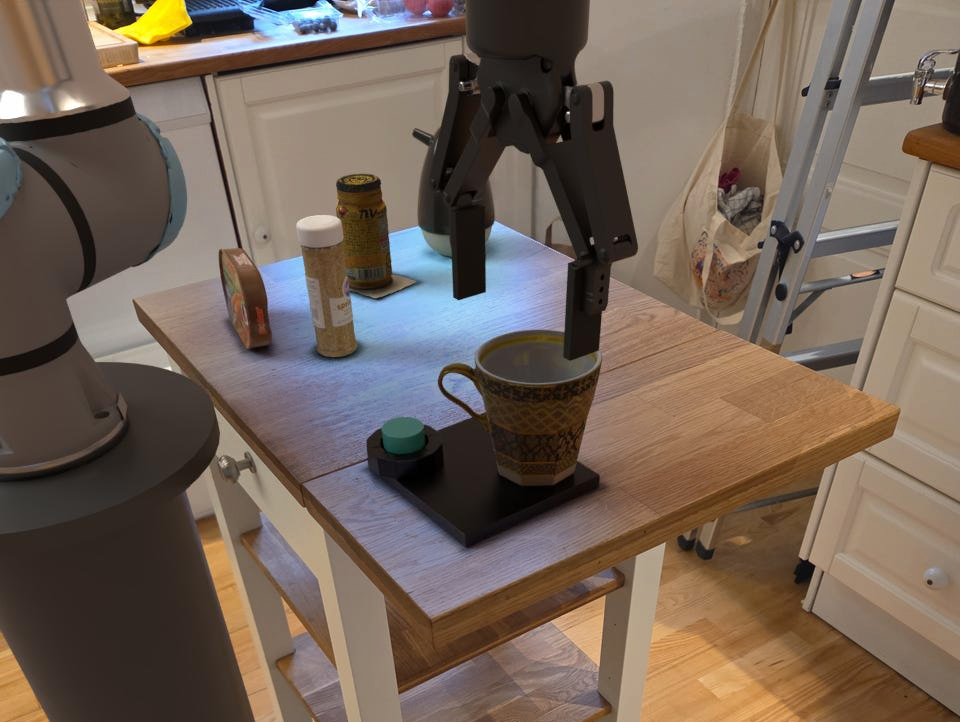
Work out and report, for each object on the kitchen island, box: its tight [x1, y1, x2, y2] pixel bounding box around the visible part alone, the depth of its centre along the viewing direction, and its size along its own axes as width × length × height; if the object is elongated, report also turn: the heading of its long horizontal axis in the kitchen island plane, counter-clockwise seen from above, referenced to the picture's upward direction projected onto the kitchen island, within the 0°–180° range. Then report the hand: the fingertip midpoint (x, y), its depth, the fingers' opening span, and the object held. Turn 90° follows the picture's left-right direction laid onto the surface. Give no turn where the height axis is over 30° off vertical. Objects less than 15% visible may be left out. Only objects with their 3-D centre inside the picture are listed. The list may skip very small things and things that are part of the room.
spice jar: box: [295, 214, 358, 358], centre depth 92 cm, size 5×5×14 cm
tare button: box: [381, 416, 425, 454], centre depth 75 cm, size 4×4×2 cm
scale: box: [365, 411, 601, 548], centre depth 76 cm, size 16×15×3 cm
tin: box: [218, 247, 273, 350], centre depth 98 cm, size 15×3×8 cm, turn 23°
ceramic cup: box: [437, 328, 603, 486], centre depth 72 cm, size 13×10×10 cm
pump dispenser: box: [411, 126, 496, 258], centre depth 113 cm, size 10×10×15 cm
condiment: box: [335, 173, 418, 299], centre depth 106 cm, size 7×8×12 cm
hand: (521, 323), depth 66 cm, fingers open, 13 cm apart
